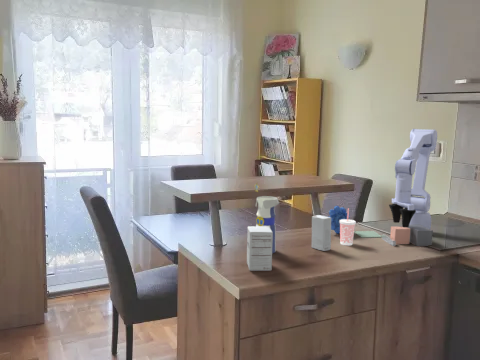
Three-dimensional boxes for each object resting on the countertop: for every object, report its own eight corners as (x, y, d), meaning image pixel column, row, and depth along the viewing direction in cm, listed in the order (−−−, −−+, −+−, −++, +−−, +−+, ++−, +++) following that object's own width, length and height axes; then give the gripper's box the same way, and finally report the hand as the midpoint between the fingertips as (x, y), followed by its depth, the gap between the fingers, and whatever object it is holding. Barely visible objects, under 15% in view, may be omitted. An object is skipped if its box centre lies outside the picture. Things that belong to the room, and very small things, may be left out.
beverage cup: (334, 242, 176) (336, 207, 174) (346, 240, 179) (348, 206, 177) (345, 246, 170) (347, 210, 168) (357, 244, 173) (360, 209, 171)
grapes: (333, 237, 183) (334, 208, 181) (323, 233, 189) (324, 205, 187) (355, 234, 188) (357, 206, 186) (345, 231, 194) (346, 203, 192)
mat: (373, 231, 194) (374, 231, 194) (382, 237, 185) (382, 236, 185) (353, 231, 193) (353, 231, 193) (361, 237, 184) (361, 236, 184)
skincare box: (331, 249, 166) (332, 217, 165) (323, 251, 163) (324, 219, 162) (318, 245, 171) (319, 214, 169) (310, 247, 168) (311, 215, 166)
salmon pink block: (404, 241, 180) (405, 226, 179) (409, 244, 176) (410, 229, 176) (389, 241, 180) (391, 226, 179) (394, 244, 176) (395, 229, 175)
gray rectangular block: (418, 238, 184) (419, 224, 183) (431, 245, 174) (432, 230, 173) (404, 238, 183) (405, 224, 183) (416, 245, 174) (417, 230, 173)
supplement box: (246, 263, 149) (247, 225, 147) (268, 263, 149) (269, 225, 148) (248, 271, 142) (249, 231, 140) (272, 270, 142) (273, 231, 140)
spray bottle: (267, 256, 157) (269, 184, 153) (248, 250, 163) (250, 181, 159) (281, 251, 163) (284, 182, 159) (263, 246, 169) (265, 179, 165)
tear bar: (384, 239, 182) (384, 234, 182) (395, 246, 173) (395, 241, 172) (381, 239, 182) (382, 234, 182) (393, 246, 172) (393, 241, 172)
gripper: (385, 187, 182) (383, 220, 184) (402, 193, 167) (399, 229, 169) (402, 187, 183) (399, 220, 184) (420, 193, 168) (417, 229, 170)
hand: (400, 224), depth 177 cm, fingers open, 7 cm apart
